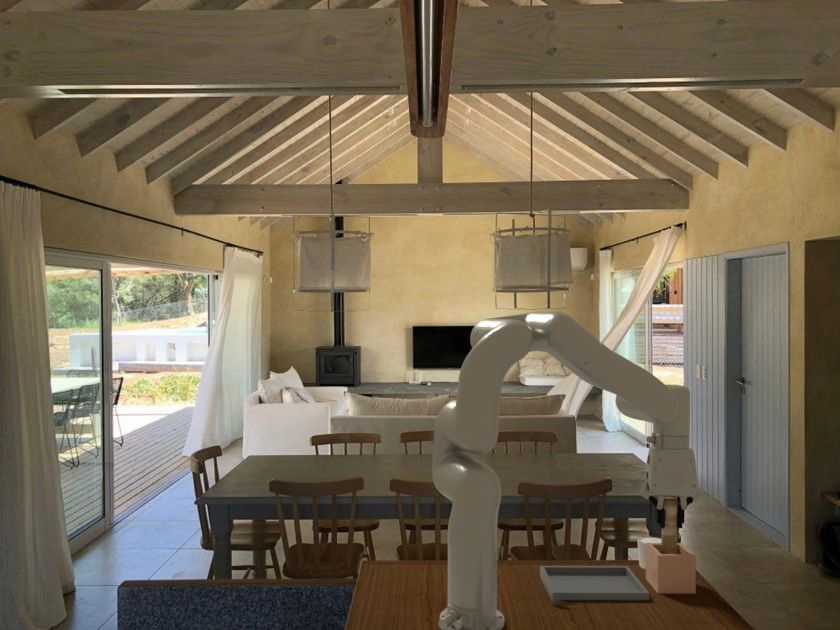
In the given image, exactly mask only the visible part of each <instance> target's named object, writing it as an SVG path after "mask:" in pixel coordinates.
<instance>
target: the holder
mask: <svg viewBox="0 0 840 630" xmlns="http://www.w3.org/2000/svg"><path fill="white" fill-rule="evenodd" d="M696 569H697V555H696V554H695V553H694V552H692V551H691V550H690V548H688V547H687V546H686V545H684V543H682V542H677V554H661V543H646V569H645V580H646V581H647V582H648V583H649V585H650V586H651V587H652V588H653V590H655V592H656V593H657V594H690V595H691V594H692V595H693V594H695V595H696V589H697V587H696V584H697V583H696V581H697V580H696V579H697V574H696V573H697V572H696V571H697V570H696Z"/></svg>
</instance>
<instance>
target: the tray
mask: <svg viewBox="0 0 840 630" xmlns="http://www.w3.org/2000/svg"><path fill="white" fill-rule="evenodd" d="M539 569H540V570H539V578H540V579H541V582H542V584H544V585H543V586H544V588H545V591H546V593H547V596H548V598H549V599H550V602H551V604H552V605H553V606H554V605H555V606H560V605H563V606H564V605H565V606H566V605H567V606H569V605H570V606H573V605H575V606H576V605H577V606H578V605H579V604H578V603H573V602H569V601H650V592H649V591H648V590H647V588H646V587H645V586H644V585H643V583H642V582H641V581H640V580H639V578H638V577H637V576H636V575H635V573H634V572H633V571H632V570H631V568H630V567H629V566H628V565H615V566H614V565H610V566H609V565H540V566H539Z"/></svg>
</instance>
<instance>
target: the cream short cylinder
mask: <svg viewBox="0 0 840 630" xmlns="http://www.w3.org/2000/svg"><path fill="white" fill-rule="evenodd" d="M661 539H662V537H658V536H657V537H656V536H641V537H638V538H637V553H638V563H639V567H640V568H641V569H643V570H646V543H661Z"/></svg>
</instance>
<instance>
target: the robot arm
mask: <svg viewBox="0 0 840 630" xmlns="http://www.w3.org/2000/svg"><path fill="white" fill-rule="evenodd" d="M469 339H470V341H469V342H470V346H471V349H470V351H469V352H468V354H467V355H466V356H465V359H464V360H463V363H462V364H461V368H460V370H459V377H458V382H457V383H458V384H457V389H456V390H457V391H456V399H453V400H451V401H449V402H447V403H445V404H444V405H443V406H442V408H441V409H440V411H439V413H437V417H436V420H435V424H434V430H433V431H434V432H433V434H434V435H433V448H432V449H433V450H432V464H431V467H432V468H431V473H432V475H431V476H432V481H433V485H434V487H435V489H436V490H437V491H438V492H439V493H440V494H441V495H442V496H444V497H445V498H447V499H448V500H449V501H450V502H451V505H452V506H451V510H450V511H451V512H450V514H449V515H450V516H449V520H448V524H447V525H448V526H447V605H446V608H445V609H443V610H442V611H441V612H440V614H439V620H438V623H437V624H438V628H439V629H440V630H503V628H504V627H505V616H504V614H503V613H502V612H501V611H499V610H498V609H497V603H498V602H497V601H498V600H497V599H498V598H497V595H498V593H497V591H498V590H497V587H498V586H497V585H498V584H497V580H498V579H497V577H498V573H497V572H498V568H497V567H498V566H497V564H498V560H497V559H498V558H497V557H498V543H497V542H498V541H497V540H498V536H497V535H498V520H499V518H498V517H499V510H500V505H501V498H502V484H501V481H500V478H499V476H498V475H497V473H496V471H495V470H494V469H493V468H492V467H491V466H489V465H488V464H486V463H484V462H483V461H481V460H479V459H477V458H476V456H477V455H484V454H487V453H489V452H490V451H491V450H493V449H494V447H495V446H496V444H497V441H498V438H499V429H500V428H499V425H500V411H501V395H502V388H503V383H504V380H505V377H506V375H507V374H508V372H509V371H510V370H511V368H513V367H514V366H515V364H517V363H518V362H519V361H521V360H523V359H524V358H525V357H526V356H527V355H528V354H529V353H531V352H542V353H547V354H549V355H550V356H552V357H553V358H554V359H556V360H557V361H559V363H561V364H562V365H563V366H565V367H566V368H567V369H569V371H571V372H572V373H573V374H574V375H576V376H577V377H578V378H579V379H580V380H582V381H583V382H585V383H587V384H589V385H591V386H593V387H595V388H598V389H601V390H603V391H606V392H609V393H611V394H614V395H616V396H615V405H616V408H617V409H618V411H619V412H620V414H622V415H623V416H626V417H627V418H629V419H632V420H633V419H634V420H638V421H641V422H643V421H644V422H648V423H652V432H651V435H650V436H649V435H647V436H646V437H645V441H646V443H650V444H651V446H650V447H649V449H648V454H647V458H646V463H645V465H646V466H645V474H644V475H645V476H644V482H643V483H642V486H641V488H640V489H639V492H638V495H640V496H641V497H642V498H644V499H646V500H648V501H649V502H650V503H651V504H652V505H653V506H654V521H655V523H656V524H657V526H658V527H660V529H662V528H664V527H665V510H664V509H663V501H664V497H673V498H676V499H678V516H677V529H683V526H684V525H683V524H685V511H686V510H687V508H688V506H689V505H690V504H692V503H693V501H695V500H697V499H699V498H701V497H702V493H701V491H700V489H699V486H698V474H697V463H696V457H695V452H694V451H695V450H694V449H693V448H690V434H691V433H690V432H691V431H690V427H691V425H690V423H691V392H690V389H689V388H688V387H687V386H685V385H680V384H665V383H664V382H662V381H661V379H659V378H658V377H656V376H655V375H654V374H653V373H651V372H650V371H648V370H646V369H645V368H643V367H641V366H640V365H638V364H636V363H634V362H633V361H631V360H629V359H627V358H626V357H624V356H622V355H621V354H619V353H617V352H615V351H613V350H612V349H610V348H609V347H608V346H607V345H605V344H604V343H603V342H601V341H600V340H599V339H598V338H597V337H596V336H594V335H593V334H592V333H591V332H590V331H588V329H586V328H585V327H583V325H581V324H580V323H579V322H577V321H576V320H575V319H574V318H572V316H570V315H568V314H566V313H563V312H560V311H534V312H533V311H532V312H527V313H521V314H520V313H519V314H512V315H506V316H497V317H489V318H485V319H482V320H480V321H478V322H477V323H476V324H475V325H474V326H473V328H472V330H471V333H470V337H469ZM649 492H650V493H651V494H650V493H649Z"/></svg>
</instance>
